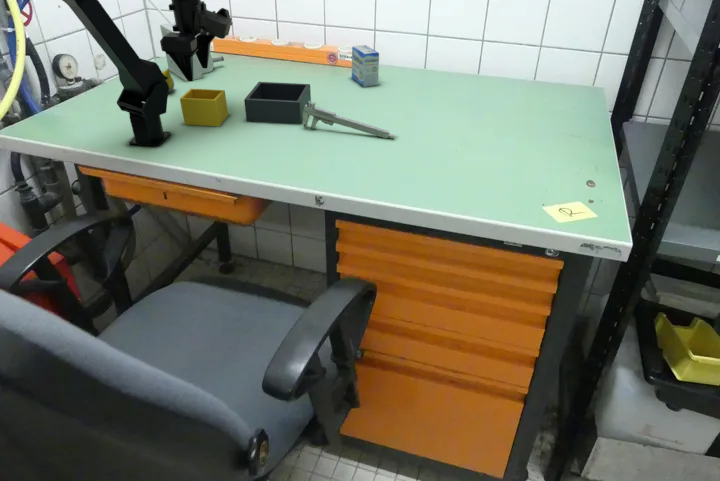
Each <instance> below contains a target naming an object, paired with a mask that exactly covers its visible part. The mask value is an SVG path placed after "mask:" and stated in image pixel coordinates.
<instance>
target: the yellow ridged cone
mask: <svg viewBox="0 0 720 481" xmlns="http://www.w3.org/2000/svg"><path fill="white" fill-rule="evenodd" d="M161 72H162V73H163V75H164V76H166V77H167V78H168V79H167V80H166V81H167V83H168V85H169V90H168V94H170V93H172V92H173V90H174V88H175V81H174V79H173V77H172V76H171V75H172V74H171V71H170V70H169V68H168V69H166V70H164V71H161Z"/></svg>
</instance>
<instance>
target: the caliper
mask: <svg viewBox="0 0 720 481" xmlns="http://www.w3.org/2000/svg"><path fill="white" fill-rule="evenodd" d="M315 105H316V101H314V102H313V103H312V100H311V101H309V102H308V105H305V107H304V111H303V121H302V124H303V127H304V128H305V129H306V128H307V127H308V123H309V119H310V117H312V120H311V124H310V125H311V127H310V130H314V129H315V127H316V126H317V124H318V122H319V121H321V122H322V123H323V124H324V125H329V126H333V125H334V124H336V125H339V126H343V127H347V128H350V129H353V130H357V131H360V132H364V133H367V134H370V135H373V136H377V137H379V138H382V139H388V138H389V139H394V137H395V135H394V134H392V133H391V132H390V131H389V130H388V129H384V128H381V127H377V126H374V125H370V124H367V123H364V122H360V121H358V120H354V119H350V118H347V117H344V116H340V115H337V113H336V112H333V111H331V110H327V109H324V108H320V107H317V106H316V107H315Z"/></svg>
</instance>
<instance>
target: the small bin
mask: <svg viewBox="0 0 720 481" xmlns="http://www.w3.org/2000/svg"><path fill="white" fill-rule="evenodd" d="M226 96H227V95H226V90H224V89H208V88H189V89H188V91H186V92H185V93H184V94H183V95H182V96H181V97H180V98H179V102H180V107H181V113H182V118H183V123H184V126H185V125H187V126H205V127H220V126H221V125H222V124H223V122H224V121H225V120H226V119H227V117H228V116H229V110H228V103H227V97H226Z"/></svg>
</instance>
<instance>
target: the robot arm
mask: <svg viewBox="0 0 720 481" xmlns="http://www.w3.org/2000/svg"><path fill="white" fill-rule="evenodd" d="M61 1H63V2H64V3H65V4H66V5H67V6H68V7H69V9H70V10H71V11H72V12H73V14H74V15H75V16H76V18H77V19H78V20H79V21H80V22H81V24H82V25H83V27H85V29H86V31H88V32H89V34H90V35H91V37H92V38H93V39H94V41H96V43H97V45H98V46H99V47H100V48H101V50H102V51H103V52H104V53H105V55H106V56H107V57H108V58H109V60H110V61H111V62H112V63H113V65H114V66H115V67H116V69H117V73H118V77H119V82H120V84H121V86H122V88H123V89H122V90H121V92H120V94H119V96H118V98H117V101H116V105H117V106H118V108H119V109H120V111H122V112H126V113H128V115H129V122H130V125H131V128H132V133H133V138H132V139H130V140H129V142H128V144H129V145H130V146H143V147H160V146H161V145H162V144H163V143H164V142H165V141H166V140H167V139H168V138H169V137H170V136H171V132H170V131H165V130H164V128H163V123H162V118H161V115H164V114H166V113H167V109H168V108H167V107H168V97H169V93H168V90H169V85H168V83H167V81H166V80H167V79H168V78H167V77H166V76H164V75H163V73H162V72H163V71H162V70H161V68H160V65H159V64H157V62H155V61H151V60H148V59H143V58H140V56H139V55H138V53H137V52H136V51H135V49H134V48H133V46H132V45H131V44H130V42H129V41H128V40H127V38H126V36H124V34H123V33H122V32H121V30H120V29H119V27H118V26H117V25H116V23H115V21H114V20H113V19H112V17H111V16H110V15H109V13H108V12H107V11H106V9H105V8H104V7H103V5H102V3H101V2H100V1H99V0H61ZM168 9H169V11H173V18H174V23H176V25H174V26H172V27H173V32H180V33H173V32H170V33H168V34H167V35H165V36H164V37H163V38H161V39H160V41H159V43H160V49H161V51H162V52H164V53H165V52H166V53H165V55H166V54H169V56H170V57H171V58H172V60H173V61H174V62H175V63H176V65H177V66H178V68H179V69H180V70H181V72H182V73H183V75H184V76H185V78H186V79H187V81H186V82H193V81H194V80H193V56H194V54H195V53H196V55H197V57H198V60H199V62H200V64H201V66H202V68H207V67H208V60H209V51H210V52H211V44H212V42H213V40H215V38H218V39H221V40H223V39H226V37H227V36H229V34H230V31H231V30H230V29H231V26H232V25H233V21H232V20H233V18H232V17H231V15H230V11H229V9H227V8H224V7H221V8H219V10H218V11H217V12H216V10H213V11H211V10H209V9H208V8H207V4H206V3H205V1H204V0H171V3H169V4H168Z"/></svg>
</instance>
